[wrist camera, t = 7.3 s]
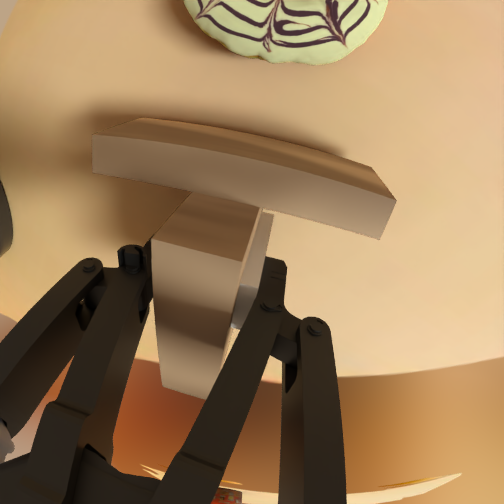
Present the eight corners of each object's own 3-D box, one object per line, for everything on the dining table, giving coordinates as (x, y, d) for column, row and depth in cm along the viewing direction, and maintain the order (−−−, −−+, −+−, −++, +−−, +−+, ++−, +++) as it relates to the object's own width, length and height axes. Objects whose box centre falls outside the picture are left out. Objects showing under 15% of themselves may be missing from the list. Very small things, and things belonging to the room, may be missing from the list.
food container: (244, 491, 92) (240, 510, 83) (246, 494, 100) (242, 512, 91) (209, 484, 94) (205, 504, 85) (214, 489, 103) (210, 506, 94)
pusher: (310, 313, 22) (306, 419, 14) (140, 269, 22) (83, 353, 14) (371, 167, 15) (431, 252, 7) (141, 117, 15) (31, 161, 8)
